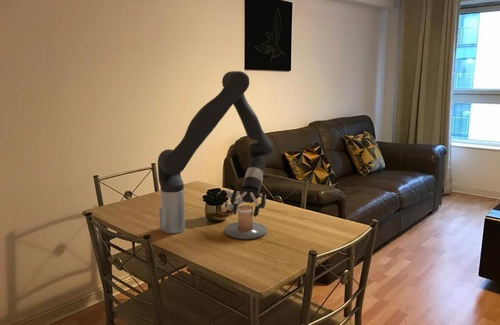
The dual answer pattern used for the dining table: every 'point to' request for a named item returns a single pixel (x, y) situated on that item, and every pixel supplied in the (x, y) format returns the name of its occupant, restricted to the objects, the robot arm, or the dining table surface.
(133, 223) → the dining table surface
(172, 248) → the dining table surface
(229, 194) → the donut
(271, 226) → the dining table surface
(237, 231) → the dish
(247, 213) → the pink cylinder
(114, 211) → the dining table surface
